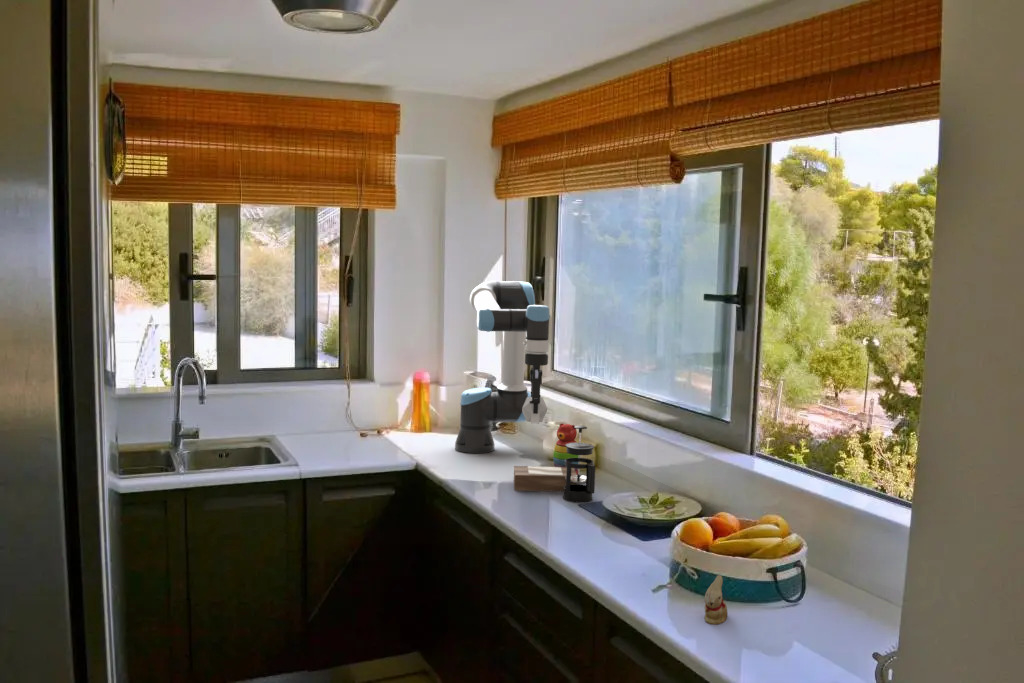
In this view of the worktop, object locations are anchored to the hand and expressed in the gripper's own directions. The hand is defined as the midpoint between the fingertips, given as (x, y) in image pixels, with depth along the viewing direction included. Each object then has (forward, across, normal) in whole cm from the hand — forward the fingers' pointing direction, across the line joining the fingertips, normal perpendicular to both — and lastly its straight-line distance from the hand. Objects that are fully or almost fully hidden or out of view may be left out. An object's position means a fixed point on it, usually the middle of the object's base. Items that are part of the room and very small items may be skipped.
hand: (534, 420), depth 297 cm
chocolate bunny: (+23, +106, +37) cm, 114 cm away
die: (0, 0, 0) cm, 0 cm away
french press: (+22, +16, +14) cm, 30 cm away
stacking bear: (+21, -13, +12) cm, 28 cm away
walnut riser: (+21, +2, +4) cm, 22 cm away
